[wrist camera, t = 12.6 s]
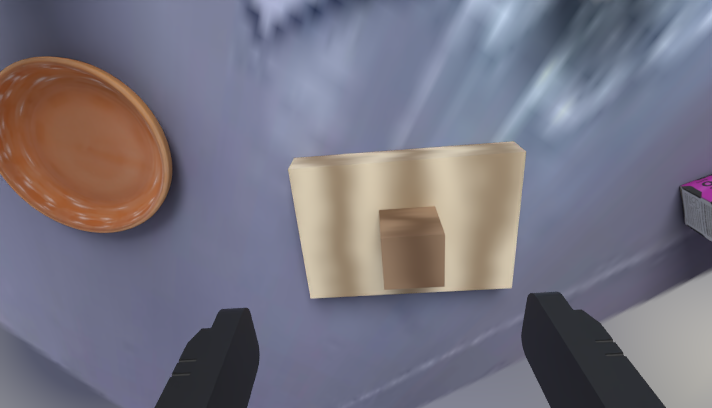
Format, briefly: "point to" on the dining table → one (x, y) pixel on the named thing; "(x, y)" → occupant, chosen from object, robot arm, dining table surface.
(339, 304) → the dining table surface
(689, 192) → the candy bar box
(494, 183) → the wooden block
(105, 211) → the saucer
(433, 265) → the walnut cube
